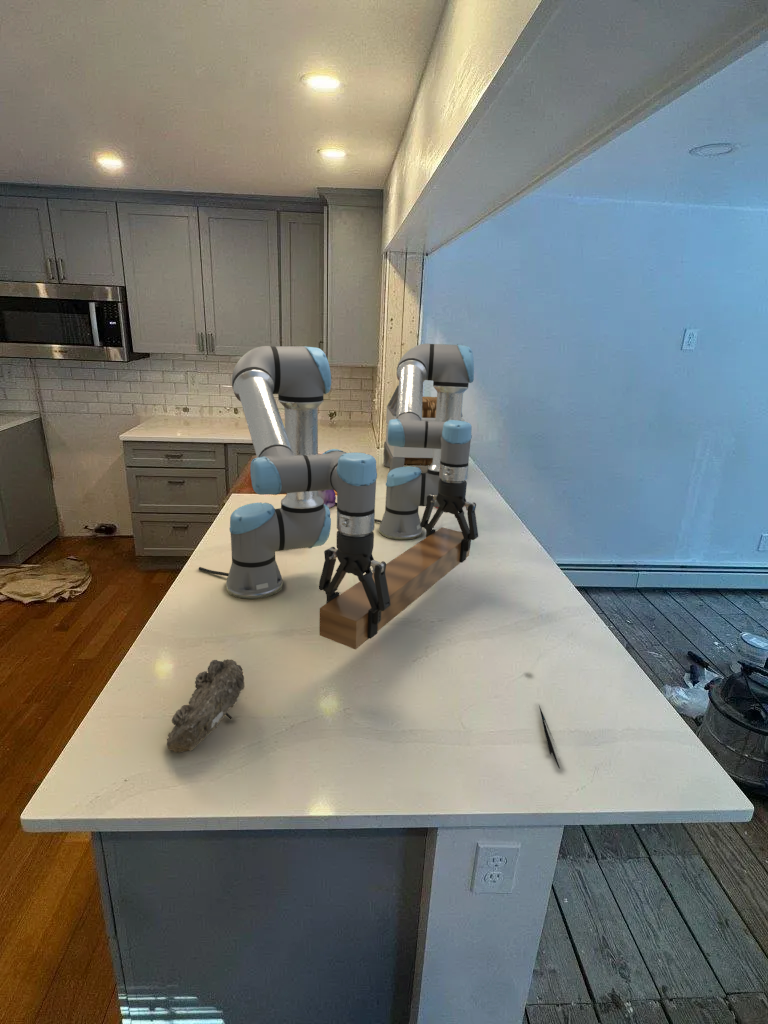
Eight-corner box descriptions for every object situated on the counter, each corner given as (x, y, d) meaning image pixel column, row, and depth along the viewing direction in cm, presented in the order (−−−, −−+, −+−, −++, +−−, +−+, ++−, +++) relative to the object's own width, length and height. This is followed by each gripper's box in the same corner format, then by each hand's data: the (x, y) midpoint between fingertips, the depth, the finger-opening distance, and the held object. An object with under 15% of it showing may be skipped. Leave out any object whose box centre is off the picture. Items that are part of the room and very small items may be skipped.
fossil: (192, 660, 117) (244, 628, 112) (224, 691, 120) (276, 661, 115) (142, 746, 98) (202, 712, 93) (182, 779, 101) (242, 748, 96)
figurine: (318, 511, 218) (318, 473, 213) (309, 502, 226) (309, 466, 221) (341, 508, 222) (341, 471, 217) (331, 500, 231) (331, 464, 226)
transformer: (382, 463, 289) (386, 382, 275) (445, 464, 293) (451, 384, 279) (390, 482, 257) (394, 392, 243) (460, 483, 261) (468, 394, 247)
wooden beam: (440, 547, 166) (441, 527, 164) (469, 555, 162) (471, 534, 160) (319, 635, 119) (319, 608, 117) (355, 649, 115) (356, 621, 113)
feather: (529, 679, 125) (535, 673, 125) (559, 773, 99) (566, 766, 98) (523, 675, 125) (528, 669, 125) (551, 768, 98) (558, 761, 98)
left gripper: (300, 524, 116) (301, 620, 124) (392, 549, 106) (387, 653, 113) (322, 514, 122) (322, 606, 130) (412, 537, 112) (406, 636, 119)
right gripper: (410, 475, 154) (405, 551, 161) (486, 490, 143) (477, 571, 151) (423, 469, 160) (418, 542, 168) (496, 483, 149) (488, 561, 157)
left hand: (352, 628), depth 121 cm, fingers closed on wooden beam, 9 cm apart
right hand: (446, 556), depth 159 cm, fingers closed on wooden beam, 9 cm apart
